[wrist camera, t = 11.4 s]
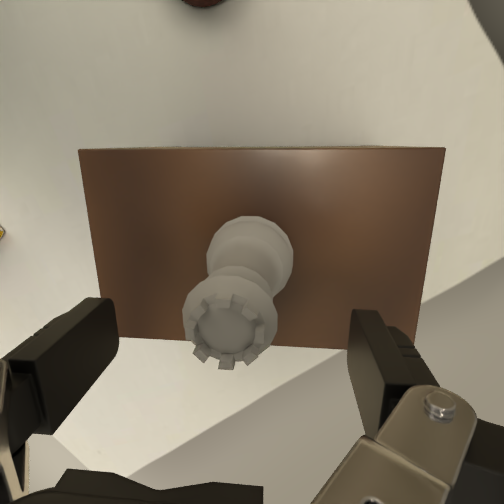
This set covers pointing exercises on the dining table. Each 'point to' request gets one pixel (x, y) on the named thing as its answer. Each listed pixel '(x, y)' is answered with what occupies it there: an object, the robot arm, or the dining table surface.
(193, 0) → the can
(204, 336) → the rook chess piece
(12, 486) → the robot arm
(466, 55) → the dining table surface
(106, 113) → the dining table surface
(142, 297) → the shelf
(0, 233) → the medicine bottle
